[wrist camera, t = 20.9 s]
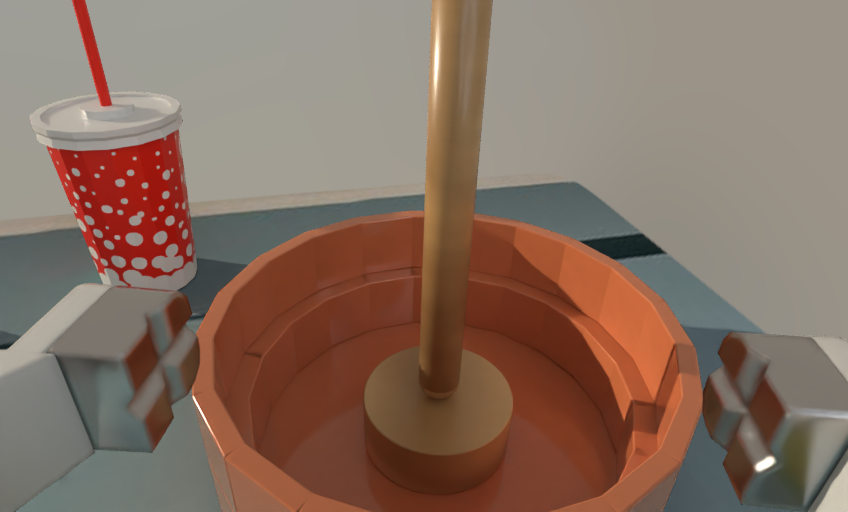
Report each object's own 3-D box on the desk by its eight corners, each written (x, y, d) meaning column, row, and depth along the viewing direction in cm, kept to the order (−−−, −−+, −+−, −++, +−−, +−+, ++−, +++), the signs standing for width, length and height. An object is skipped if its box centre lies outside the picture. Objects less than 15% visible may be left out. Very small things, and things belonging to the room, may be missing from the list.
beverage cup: (217, 295, 29) (158, -5, 21) (81, 320, 27) (-36, -2, 19) (207, 239, 33) (156, -22, 26) (92, 257, 31) (1, -20, 24)
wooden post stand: (497, 382, 23) (575, -191, 13) (517, 496, 18) (656, -243, 9) (369, 381, 23) (354, -199, 13) (358, 494, 18) (322, -258, 9)
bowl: (586, 322, 28) (611, 214, 25) (734, 683, 15) (828, 552, 12) (277, 317, 27) (262, 206, 24) (150, 681, 14) (82, 545, 11)
